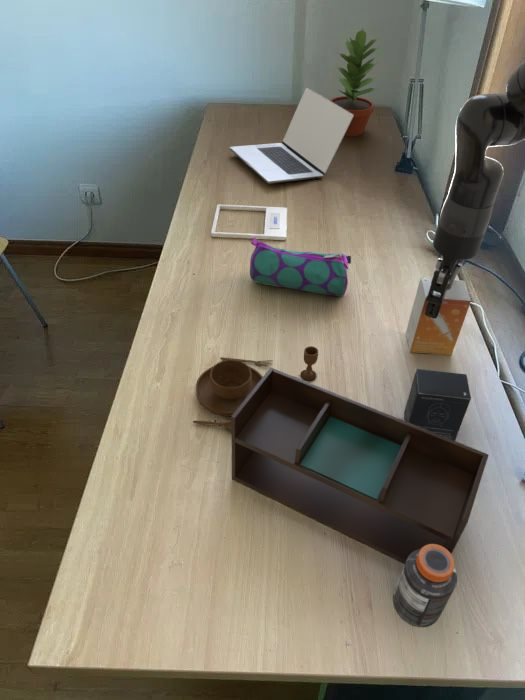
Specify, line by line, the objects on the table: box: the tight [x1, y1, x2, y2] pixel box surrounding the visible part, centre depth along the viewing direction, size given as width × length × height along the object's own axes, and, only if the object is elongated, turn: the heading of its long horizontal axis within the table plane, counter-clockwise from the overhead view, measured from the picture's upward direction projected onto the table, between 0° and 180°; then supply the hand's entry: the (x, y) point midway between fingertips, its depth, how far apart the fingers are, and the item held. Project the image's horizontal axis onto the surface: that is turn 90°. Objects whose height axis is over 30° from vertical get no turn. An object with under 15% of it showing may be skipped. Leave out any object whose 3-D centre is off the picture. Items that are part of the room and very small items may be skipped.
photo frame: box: [210, 203, 288, 241], centre depth 140 cm, size 15×1×18 cm
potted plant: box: [329, 28, 379, 137], centre depth 179 cm, size 15×15×30 cm
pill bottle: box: [392, 544, 458, 628], centre depth 67 cm, size 6×6×11 cm
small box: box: [405, 277, 472, 356], centre depth 104 cm, size 8×6×13 cm
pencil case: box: [249, 237, 352, 297], centre depth 118 cm, size 21×9×10 cm, turn 78°
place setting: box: [192, 345, 319, 431], centre depth 94 cm, size 18×20×6 cm
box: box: [403, 368, 472, 441], centre depth 88 cm, size 8×6×11 cm
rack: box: [230, 367, 489, 565], centre depth 77 cm, size 31×11×14 cm, turn 61°
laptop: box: [229, 86, 354, 185], centre depth 161 cm, size 26×24×18 cm
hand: (437, 303), depth 102 cm, fingers closed on small box, 8 cm apart
